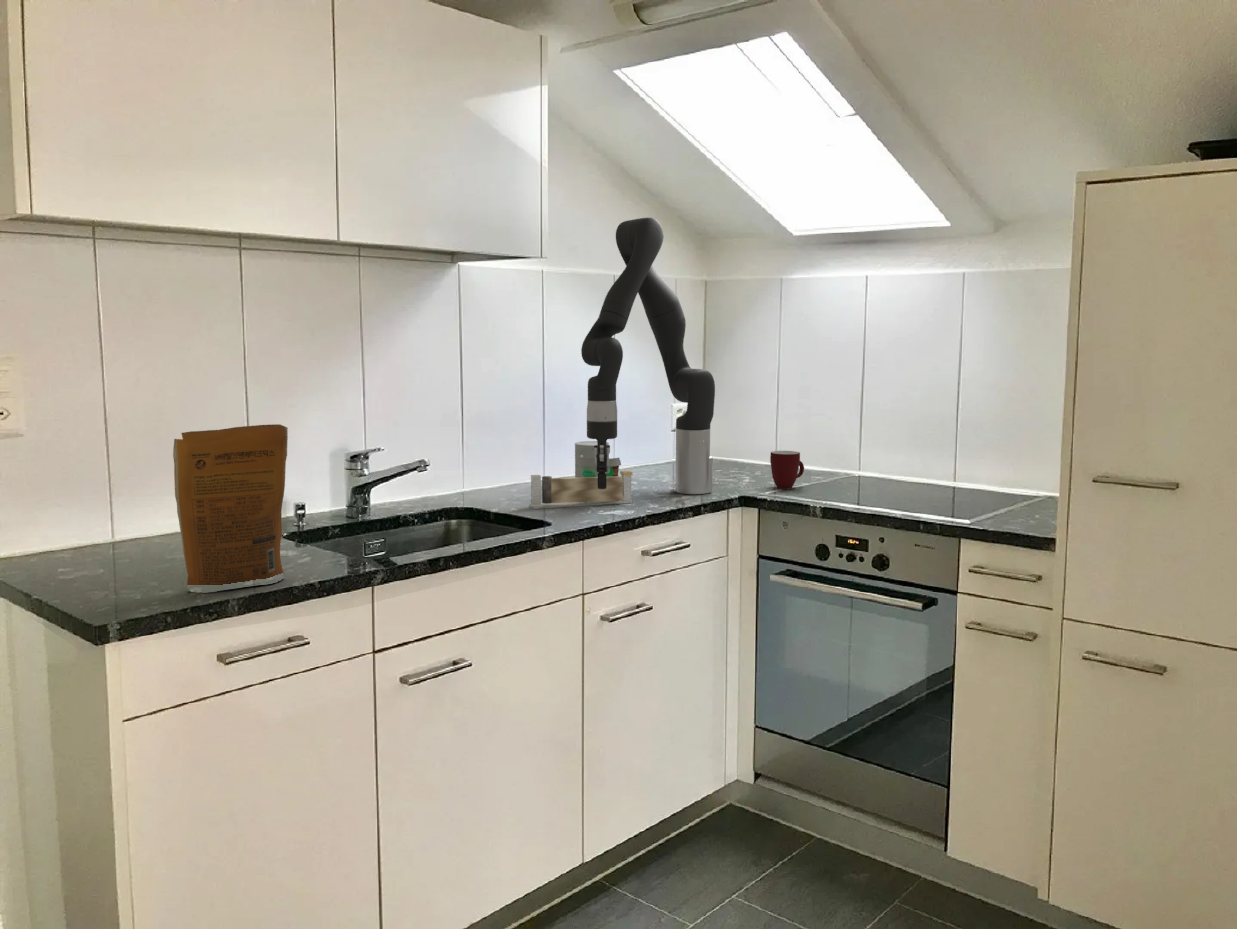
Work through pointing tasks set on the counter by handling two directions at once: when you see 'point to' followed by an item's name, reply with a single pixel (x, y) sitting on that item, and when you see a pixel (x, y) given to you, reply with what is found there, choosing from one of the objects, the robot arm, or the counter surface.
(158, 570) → the counter surface
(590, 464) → the food container
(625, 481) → the gate frame
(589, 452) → the grey cylindrical canister
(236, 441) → the pancake mix bag
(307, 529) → the counter surface
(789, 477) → the mug
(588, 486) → the gate
